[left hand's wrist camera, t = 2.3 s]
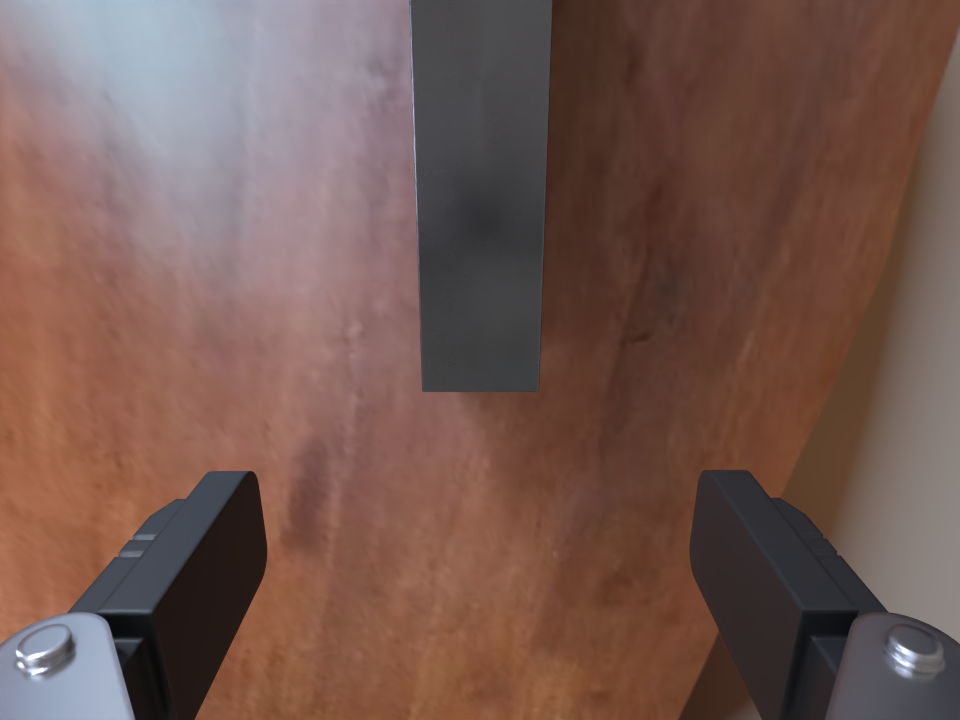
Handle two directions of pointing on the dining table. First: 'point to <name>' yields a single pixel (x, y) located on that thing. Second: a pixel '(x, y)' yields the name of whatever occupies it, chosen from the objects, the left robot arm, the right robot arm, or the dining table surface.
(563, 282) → the dining table surface
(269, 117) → the dining table surface
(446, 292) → the bar
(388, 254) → the dining table surface
